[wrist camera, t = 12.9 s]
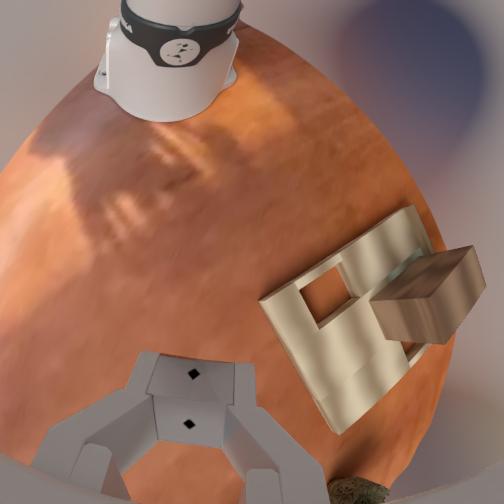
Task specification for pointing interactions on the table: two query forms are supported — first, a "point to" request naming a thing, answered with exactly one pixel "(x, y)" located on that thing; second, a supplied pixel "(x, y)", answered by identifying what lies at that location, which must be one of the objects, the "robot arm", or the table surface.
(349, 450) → the table surface
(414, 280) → the block
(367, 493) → the cup
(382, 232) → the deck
